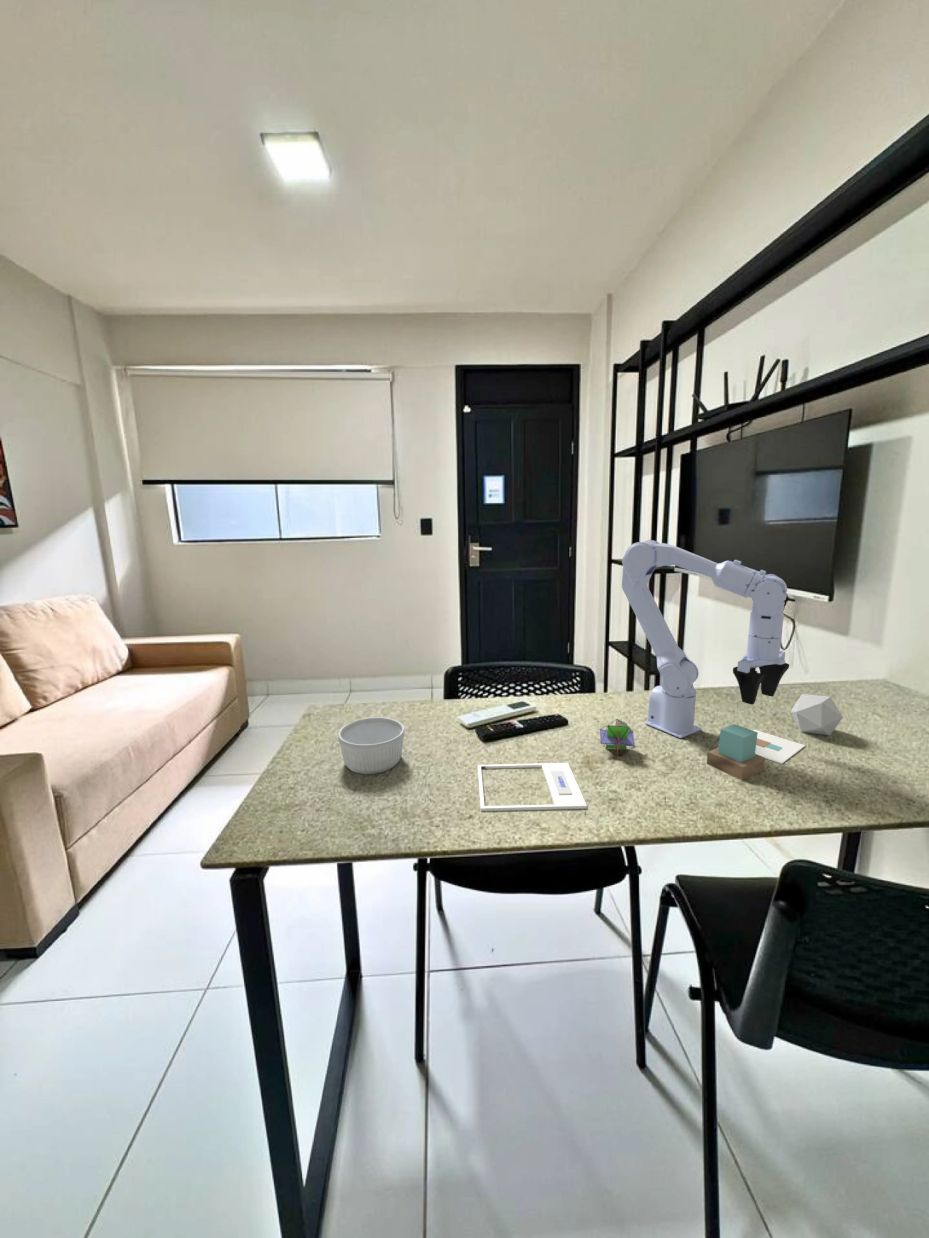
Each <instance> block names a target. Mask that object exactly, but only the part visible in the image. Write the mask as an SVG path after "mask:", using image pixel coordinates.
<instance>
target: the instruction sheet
mask: <svg viewBox="0 0 929 1238" xmlns="http://www.w3.org/2000/svg"><path fill="white" fill-rule="evenodd" d="M752 731H755V732H758V734H757V742H756V750H755V754H757V755H760V756H762V757H764V758H765V760H768V761H771V762H774V763H776V764H777V763H778V764H779V765H782V764H784V763H785V762H787V761H788V760H789V759H791V758H792V757H793V756H795V754H797V753H798V752H799V751H801V750H802V749H803V748H805V747H806V745H805V744H802V743H798V742H796V741H793V740H789V739H786V738H782V737H780V736H777V735H774V734H770V733H766V732H764V731H760V730H757V729H753V730H752Z"/></svg>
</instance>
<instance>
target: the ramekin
mask: <svg viewBox="0 0 929 1238" xmlns="http://www.w3.org/2000/svg"><path fill="white" fill-rule="evenodd" d="M337 736H338V739H337V740H338V743H339V745H340V751H341V755H342V760H343V762H344V765H345V767H347V768H348V769H349V770H350V771H352V772H353V773H356V774H362V775H372V774H373V775H374V774H375V775H376V774H380V773H384V772H386V771H388V770H391V769H392V768H394V767H395V766H396V765H397V764H398V763H399V762H400V760H401V757H402V754H403V753H402V752H403V743H404V738H405V727H404V724H402V722H400V721H399V720H396V719H393V718H389V717H380V716H379V717H377V716H376V717H375V716H373V717H364V718H361V719H357V720H353V721H351V722H349V723H347V724H345V725H343V726H342V727H341V728H340V729H339V730H338V734H337Z"/></svg>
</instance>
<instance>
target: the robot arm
mask: <svg viewBox="0 0 929 1238" xmlns="http://www.w3.org/2000/svg"><path fill="white" fill-rule="evenodd" d="M621 563H622V575H621V576H622V577H621V589H622V591H623V593H624V595H625V597H626V599H627V601H628V603H629V605H630V607H631V609H632V610H633V613H634V614H635V617H636V618H637V620H638V622H639V626H640V627H641V629H642V630H643V632H644V634H645V637H646V638H647V640H648V642H649V644H650V647H651V649H652V651H653V653H654V654H655V657H656V666H657V670H658V672H659V675H660V685H656V686H654V687H653V689H652V690H651V691H650V694H649V698H648V711H647V720H646V721H645V724H646V725H647V726H650V727H653V728H655V729H656V730H659V731H662V732H665V733H666V734H669V735H672V736H674V737H676V738H679V739H682V738H685V737H688V736H690V735H693V734H694V733H697V732H699V731H702V727H700V726H698V725H697V724H694V723H695V711H696V699H697V690H696V688H695V687H694V685H693V684H694V682H696V681H697V680H698V677H699V668H698V666H697V664H696V663H694V662H693V661H692V660H690V659H689V658H688V656H687V655H686V652H685V651H684V650H683V649H681V648H680V647H679V646H678V643H677V641H676V639H675V638H674V635H673V633H672V631H671V630H670V627H669V626H668V624H667V622H666V620H665V618H664V616H663V613H662V612H661V610H660V608H659V606H658V604H657V602H656V600H655V598H654V597H653V595H652V593H651V591H650V588H649V587H648V586H649V585H648V583H649V582H650V579H651V577H652V575H653V573H654V571H655V570H656V569H657V568H659V567H660V568H661V567H665V566H666V567H667V566H676V567H678V568H682V569H685V570H688V571H691V572H693V573H695V574H696V573H697V574H700V575H703V576H705V577H708V578H710V579H711V580H712V582H713V585H714V587H717V588H719V589H723V590H724V591H727V592H730V593H732V594H735V595H737V596H740V597H743V598H745V599H746V598H751V600H752V608H751V612H750V615H749V623H748V624H749V626H748V635H747V647H746V653H745V654H744V655H743V657H742V658H741V659H740V660H739V661H737V666H735V667H733V668H732V673H733V675H734V677H735V679H736V681H737V683H738V686H739V688H738V689H739V692H740V697H741V702H742V703H745V704H748V705H752V706H753V705H755V703H756V701H757V696H758V693H759V688H760V691H761V692H760V693H761V694H762V695H763V696H768V697H770V698H771V697H772V698H773V697H774V695H775V693H776V692H777V691H776V690H777V689H778V687H779V684H780V682H781V680H782V678H783V676H784V674H785V673H786V672H787V671H788V670H789V668H790V663H786V660H785V659H786V651H783V650H781V644H782V634H783V629H784V628H783V626H784V617H785V614H784V613H783V612H784V610H785V604H784V603H785V602H784V601H786V599H787V596H788V594H787V592H788V586H787V584H786V582H785V580H784V579H782V578H781V577H780V576H777V575H776V574H774V573H769V574H767V571H766V570H763V569H760V571H758V570H756V569H753V568H750V567H748V566H745V565H742V561H741V560H738V559H734V560H733V561H731V560H725V561H722V562H719V563H718V562H715V561H712V560H711V559H708V558H706V557H704V556H700V555H698V554H695V553H693V552H690V551H688V550H686V549H683V548H681V547H678V546H676V545H672V544H670V543H669V544H668V543H665V542H658V541H657V540H653V539H648V540H644V541H639V542H638V541H637V542H634V543H632V544H631V545H630V546H628V547H627V549H626V551H625V552H624V555H623V557H622V559H621ZM757 668H758V669H759V670H756V669H757ZM758 671H759V672H758Z"/></svg>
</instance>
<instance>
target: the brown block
mask: <svg viewBox="0 0 929 1238" xmlns="http://www.w3.org/2000/svg"><path fill="white" fill-rule="evenodd" d="M718 750H719V747H715V748H714V749H711V750H709V751H707V758H706V765H708V766H710V767H712V768H715V769H717V770H719V771H721V772H723V773H726V774H728V775H729V776H731V777H734V778H736V779H738V780H740V781H743V780H744V779H747V778H749V777H752V776H754V775H756V774H758V773H760V772H762V771H764V769H765V767H764V766H765V760H766V759H765V758H764V757H762V756H760V755H757V754H755V757H753V758H751V759H748V760H746V761H744V762H738V761H736V760H734V759H731V758H729V757H727V756H724V755H722V754H720V753H718Z"/></svg>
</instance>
